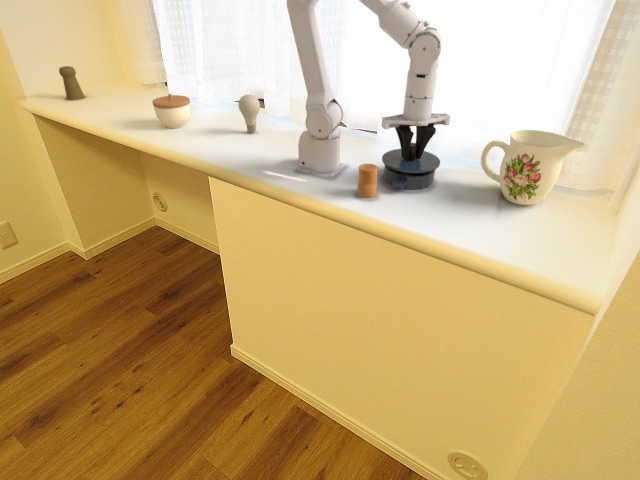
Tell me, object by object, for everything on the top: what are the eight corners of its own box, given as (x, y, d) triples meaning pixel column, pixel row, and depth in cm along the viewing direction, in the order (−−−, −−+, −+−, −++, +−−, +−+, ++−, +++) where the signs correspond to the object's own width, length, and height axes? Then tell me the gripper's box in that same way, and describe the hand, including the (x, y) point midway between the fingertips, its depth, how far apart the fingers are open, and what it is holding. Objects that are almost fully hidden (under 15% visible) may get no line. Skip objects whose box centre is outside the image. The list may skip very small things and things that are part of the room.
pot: (372, 190, 90) (373, 175, 87) (395, 163, 102) (397, 149, 100) (422, 201, 85) (424, 185, 83) (440, 172, 98) (442, 157, 96)
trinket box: (157, 132, 121) (150, 100, 115) (157, 121, 129) (151, 91, 124) (194, 128, 123) (189, 97, 118) (192, 118, 132) (187, 88, 127)
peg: (354, 197, 87) (356, 169, 83) (361, 189, 90) (363, 162, 86) (371, 201, 85) (374, 172, 82) (378, 193, 88) (381, 165, 85)
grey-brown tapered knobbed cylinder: (88, 97, 153) (78, 66, 147) (72, 100, 149) (62, 69, 143) (78, 95, 156) (69, 64, 150) (63, 98, 151) (52, 67, 145)
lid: (373, 168, 89) (375, 149, 86) (392, 149, 98) (393, 131, 96) (431, 180, 84) (435, 160, 82) (445, 158, 94) (448, 140, 91)
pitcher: (483, 176, 96) (498, 118, 88) (567, 199, 86) (591, 137, 78) (465, 193, 88) (479, 132, 81) (554, 220, 79) (579, 153, 71)
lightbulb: (248, 137, 117) (244, 98, 111) (237, 132, 121) (233, 94, 115) (266, 133, 120) (263, 95, 114) (255, 127, 124) (251, 90, 118)
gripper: (392, 102, 78) (385, 167, 86) (461, 98, 81) (449, 162, 88) (380, 93, 84) (375, 155, 92) (445, 89, 87) (435, 150, 94)
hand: (410, 157), depth 90 cm, fingers closed on lid, 2 cm apart
